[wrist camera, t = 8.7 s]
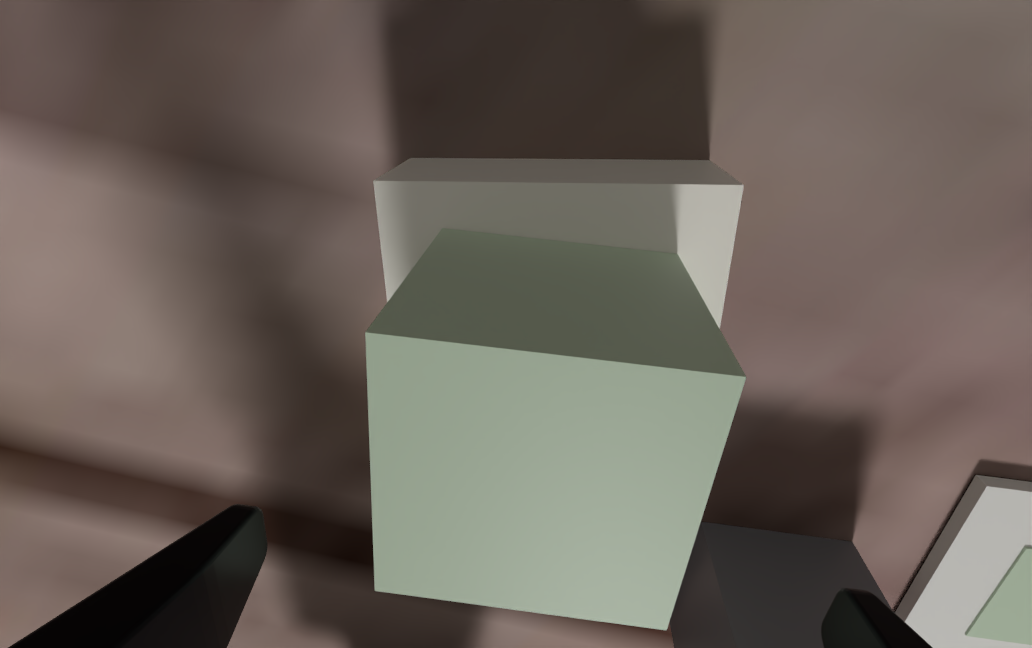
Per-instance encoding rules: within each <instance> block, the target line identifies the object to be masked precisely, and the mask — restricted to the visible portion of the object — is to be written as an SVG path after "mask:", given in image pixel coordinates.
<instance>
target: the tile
mask: <svg viewBox="0 0 1032 648" xmlns="http://www.w3.org/2000/svg"><path fill="white" fill-rule="evenodd" d="M895 614H897V615H898V616H899V617H900V618H901V619H902V620H903V621H904V622H905V623H906V624H908V625H909V626H910V627H911V628H912V629H913V630H914V631H915V632H916V633H917V634H918V635H920V636H921V637H922V638H923V639H924V640H925V641H926V642H927V643H928V644H929V645H931V646H932V647H933V648H1032V482H1028V481H1020V480H1012V479H1005V478H997V477H989V476H981V475H975V477H974V479H973V480H972V482H971V484H970V485H969V487H968V489H967V491H966V492H965V494H964V496H963V497H962V499H961V501H960V503H959V504H958V506H957V508H956V509H955V511H954V513H953V514H952V516H951V518H950V520H949V521H948V523H947V525H946V526H945V528H944V530H943V531H942V533H941V535H940V537H939V538H938V540H937V542H936V543H935V545H934V547H933V548H932V550H931V552H930V554H929V555H928V557H927V559H926V560H925V562H924V564H923V566H922V567H921V569H920V571H919V572H918V574H917V576H916V577H915V579H914V581H913V583H912V584H911V586H910V588H909V589H908V591H907V593H906V594H905V596H904V598H903V600H902V601H901V603H900V605H899V606H898V608H897V610H896V611H895Z"/></svg>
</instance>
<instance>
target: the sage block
mask: <svg viewBox="0 0 1032 648" xmlns="http://www.w3.org/2000/svg"><path fill="white" fill-rule="evenodd" d="M365 336H366V364H367V391H368V419H369V446H370V474H371V501H372V529H373V556H374V584H375V591H379V592H387V593H394V594H402V595H409V596H416V597H424V598H431V599H439V600H446V601H453V602H461V603H468V604H475V605H483V606H490V607H498V608H505V609H512V610H520V611H527V612H535V613H542V614H549V615H557V616H564V617H571V618H579V619H586V620H594V621H601V622H608V623H616V624H623V625H631V626H638V627H645V628H653V629H660V630H667V628H668V624H669V621H670V618H671V615H672V612H673V609H674V605H675V602H676V599H677V596H678V593H679V589H680V586H681V583H682V580H683V577H684V574H685V570H686V567H687V564H688V561H689V558H690V555H691V551H692V548H693V545H694V542H695V539H696V535H697V532H698V529H699V526H700V523H701V520H702V516H703V513H704V510H705V507H706V504H707V500H708V497H709V494H710V491H711V488H712V485H713V481H714V478H715V475H716V472H717V469H718V465H719V462H720V459H721V456H722V453H723V450H724V446H725V443H726V440H727V437H728V434H729V430H730V427H731V424H732V421H733V418H734V415H735V411H736V408H737V405H738V402H739V399H740V396H741V392H742V389H743V386H744V383H745V380H746V376H745V374H744V372H743V370H742V368H741V367H740V365H739V363H738V361H737V359H736V358H735V356H734V354H733V352H732V351H731V349H730V347H729V345H728V343H727V342H726V340H725V338H724V336H723V334H722V333H721V331H720V329H719V327H718V325H717V324H716V322H715V320H714V318H713V316H712V315H711V313H710V311H709V309H708V307H707V306H706V304H705V302H704V300H703V299H702V297H701V295H700V293H699V291H698V290H697V288H696V286H695V284H694V282H693V281H692V279H691V277H690V275H689V273H688V272H687V270H686V268H685V266H684V264H683V263H682V261H681V259H680V257H679V255H678V254H674V253H665V252H656V251H647V250H638V249H629V248H619V247H610V246H601V245H592V244H583V243H574V242H565V241H556V240H546V239H537V238H528V237H519V236H510V235H501V234H492V233H482V232H473V231H464V230H455V229H446V228H442V229H441V231H440V232H439V233H438V235H437V236H436V237H435V239H434V240H433V241H432V243H431V244H430V245H429V247H428V248H427V250H426V251H425V252H424V254H423V255H422V256H421V258H420V259H419V260H418V262H417V263H416V264H415V266H414V267H413V268H412V270H411V271H410V273H409V274H408V275H407V277H406V278H405V279H404V281H403V282H402V283H401V285H400V286H399V287H398V289H397V290H396V292H395V293H394V294H393V296H392V297H391V298H390V300H389V301H388V302H387V304H386V305H385V306H384V308H383V309H382V310H381V312H380V313H379V315H378V316H377V317H376V319H375V320H374V321H373V323H372V324H371V325H370V327H369V328H368V329H367V331H366V332H365Z"/></svg>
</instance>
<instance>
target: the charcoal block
mask: <svg viewBox="0 0 1032 648" xmlns="http://www.w3.org/2000/svg"><path fill="white" fill-rule="evenodd" d="M842 588H852V589H859V590H866V591H869V592H871V593H873V594H874V595H876V596H877V597H878V598H879V599H880V600H881V601H882V602H883V603H885V604H886V605H887V606H888V607H889V608H890V609H891V607H890V606H889V604H888V602H887V600H886V599H885V597H884V595H883V594H882V592H881V590H880V588H879V587H878V585H877V583H876V582H875V580H874V578H873V576H872V575H871V573H870V571H869V570H868V568H867V566H866V564H865V563H864V561H863V559H862V558H861V556H860V554H859V553H858V551H857V549H856V547H855V546H854V544H853V542H851V541H844V540H836V539H828V538H821V537H813V536H806V535H798V534H791V533H783V532H776V531H768V530H761V529H753V528H746V527H738V526H731V525H723V524H716V523H708V522H701V523H700V526H699V529H698V532H697V535H696V539H695V542H694V545H693V548H692V551H691V555H690V558H689V561H688V564H687V567H686V570H685V574H684V577H683V580H682V583H681V586H680V589H679V593H678V596H677V599H676V602H675V605H674V609H673V612H672V615H671V618H670V626H671V632H672V637H673V643H674V648H824V646H823V642H822V637H821V625H822V621H823V619H824V617H825V615H826V613H827V611H828V609H829V607H830V605H831V603H832V601H833V599H834V597H835V595H836V593H837V592H838V591H839V590H840V589H842ZM891 610H892V609H891Z"/></svg>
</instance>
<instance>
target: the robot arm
mask: <svg viewBox="0 0 1032 648" xmlns="http://www.w3.org/2000/svg"><path fill="white" fill-rule="evenodd" d="M266 552H267V537H266V531H265V524H264V517H263V512H262V510H261V509H260V508H259V507H256V506H249V505H241V504H235V505H232V506H230V507H228V508H227V509H225V510H223V511H222V512H220V513H219V514H217V515H216V516H214V517H212V518H211V519H209V520H208V521H206V522H205V523H203V524H201V525H200V526H198V527H197V528H195V529H194V530H192V531H191V532H189V533H187V534H186V535H184V536H183V537H181V538H180V539H178V540H176V541H175V542H173V543H172V544H170V545H169V546H167V547H165V548H164V549H162V550H161V551H159V552H158V553H156V554H154V555H153V556H151V557H150V558H148V559H147V560H145V561H143V562H142V563H140V564H139V565H137V566H136V567H134V568H132V569H131V570H129V571H128V572H126V573H125V574H123V575H121V576H120V577H118V578H117V579H115V580H114V581H112V582H110V583H109V584H107V585H106V586H104V587H103V588H101V589H100V590H98V591H96V592H95V593H93V594H92V595H90V596H89V597H87V598H85V599H84V600H82V601H81V602H79V603H78V604H76V605H74V606H73V607H71V608H70V609H68V610H67V611H65V612H63V613H62V614H60V615H59V616H57V617H56V618H54V619H52V620H51V621H49V622H48V623H46V624H45V625H43V626H41V627H40V628H38V629H37V630H35V631H34V632H32V633H30V634H29V635H27V636H26V637H24V638H23V639H21V640H19V641H18V642H16V643H15V644H13V645H12V646H10V647H9V648H227V646H228V644H229V641H230V639H231V637H232V635H233V632H234V630H235V627H236V625H237V623H238V620H239V618H240V616H241V613H242V611H243V609H244V606H245V604H246V602H247V599H248V597H249V595H250V592H251V590H252V588H253V585H254V583H255V581H256V578H257V576H258V573H259V571H260V569H261V566H262V564H263V562H264V559H265V556H266ZM821 637H822V642H823V646H824V648H933V647H932V646H931V645H929V644H928V643H927V642H926V641H925V640H924V639H923V638H922V637H921V636H920V635H918V634H917V633H916V632H915V631H914V630H913V629H912V628H911V627H910V626H909V625H908V624H906V623H905V622H904V621H903V620H902V619H901V618H900V617H899V616H898V615H897V614H895V613H894V612H893V611H892V610H891V609H890V608H889V607H888V606H887V605H886V604H885V603H883V602H882V601H881V600H880V599H879V598H878V597H877V596H876V595H874V594H873V593H871V592H869V591H866V590H859V589H852V588H842V589H840V590H839V591H838V592H837V593H836V595H835V597H834V599H833V601H832V603H831V605H830V607H829V609H828V611H827V613H826V615H825V617H824V619H823V621H822V625H821Z"/></svg>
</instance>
